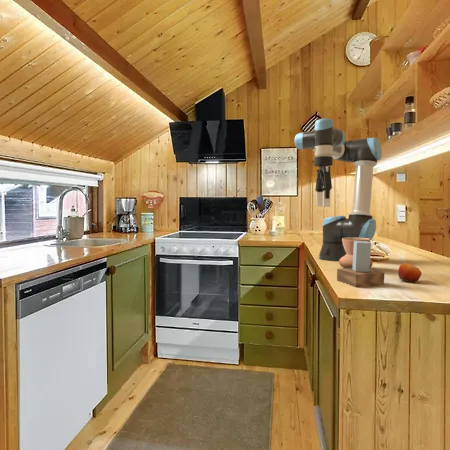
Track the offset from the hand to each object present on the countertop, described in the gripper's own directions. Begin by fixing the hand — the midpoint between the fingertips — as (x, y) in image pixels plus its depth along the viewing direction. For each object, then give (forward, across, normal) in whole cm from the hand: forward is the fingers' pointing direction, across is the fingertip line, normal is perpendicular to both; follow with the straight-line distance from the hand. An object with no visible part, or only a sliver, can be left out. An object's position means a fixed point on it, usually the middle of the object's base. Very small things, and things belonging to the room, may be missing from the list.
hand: (322, 206), depth 154 cm
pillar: (+24, +18, +10) cm, 32 cm away
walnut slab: (+29, +18, +10) cm, 36 cm away
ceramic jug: (+29, -10, +18) cm, 35 cm away
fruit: (+29, +15, +30) cm, 44 cm away
